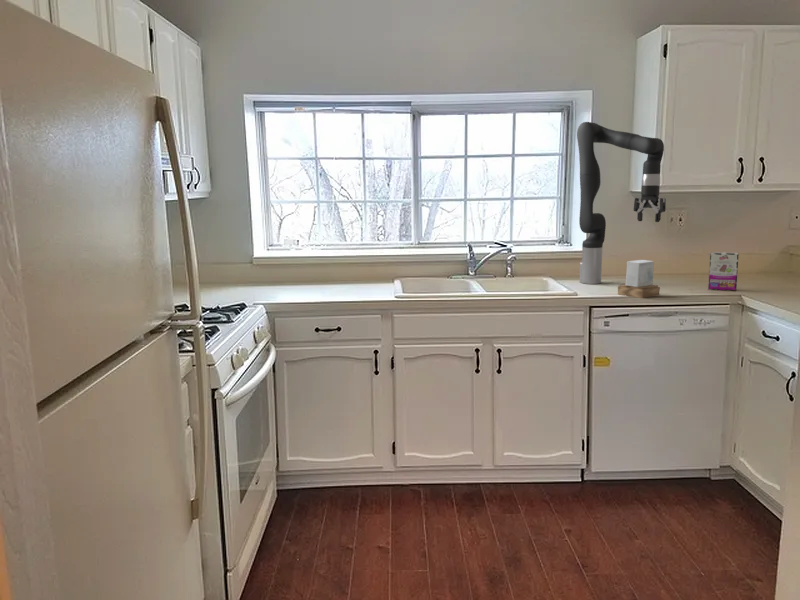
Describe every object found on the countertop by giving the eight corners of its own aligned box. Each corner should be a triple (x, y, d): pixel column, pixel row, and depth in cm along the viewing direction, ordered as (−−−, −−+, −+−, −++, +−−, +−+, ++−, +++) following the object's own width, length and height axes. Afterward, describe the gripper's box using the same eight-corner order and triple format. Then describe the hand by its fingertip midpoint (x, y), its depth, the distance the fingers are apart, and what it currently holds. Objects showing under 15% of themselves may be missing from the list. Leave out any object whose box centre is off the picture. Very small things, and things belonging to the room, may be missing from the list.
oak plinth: (617, 294, 271) (618, 285, 270) (634, 291, 278) (634, 282, 277) (642, 298, 261) (642, 288, 261) (659, 294, 268) (659, 285, 268)
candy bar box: (736, 289, 278) (739, 252, 275) (736, 291, 274) (739, 253, 271) (708, 288, 283) (710, 251, 280) (707, 289, 279) (710, 252, 276)
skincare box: (638, 287, 263) (639, 262, 261) (625, 285, 269) (626, 261, 267) (653, 285, 269) (654, 260, 267) (640, 283, 274) (641, 259, 272)
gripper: (631, 184, 281) (629, 221, 284) (660, 184, 270) (658, 222, 272) (641, 184, 285) (639, 220, 288) (670, 184, 274) (668, 221, 277)
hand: (648, 221), depth 280 cm, fingers open, 8 cm apart
